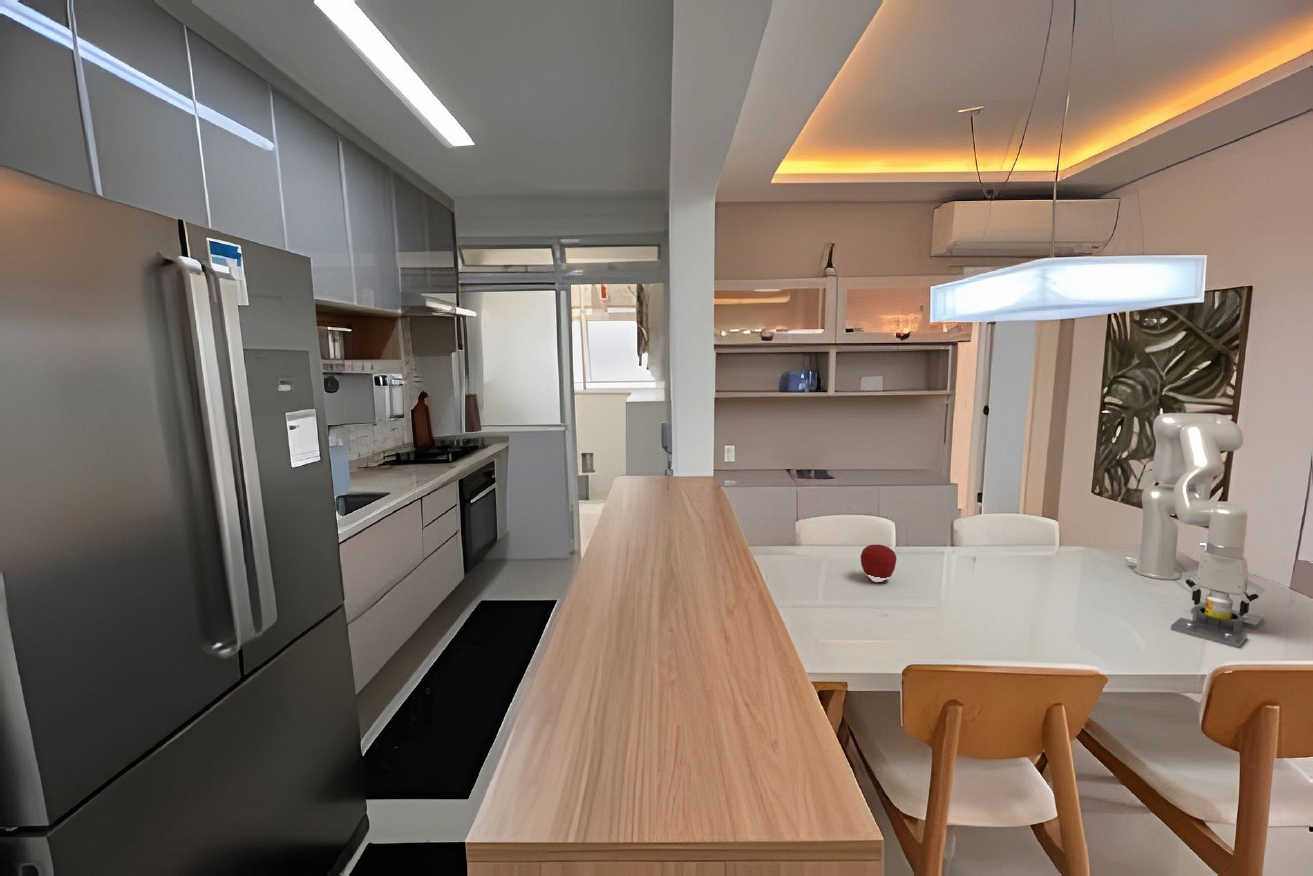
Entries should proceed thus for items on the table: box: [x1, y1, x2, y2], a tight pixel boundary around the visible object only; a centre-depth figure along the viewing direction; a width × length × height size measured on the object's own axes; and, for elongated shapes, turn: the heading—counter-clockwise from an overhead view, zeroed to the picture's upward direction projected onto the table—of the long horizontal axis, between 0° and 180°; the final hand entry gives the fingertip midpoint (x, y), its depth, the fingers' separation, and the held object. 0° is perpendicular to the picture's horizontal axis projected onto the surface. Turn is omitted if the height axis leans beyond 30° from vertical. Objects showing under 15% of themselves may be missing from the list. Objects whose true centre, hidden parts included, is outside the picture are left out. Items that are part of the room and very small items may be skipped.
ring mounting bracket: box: [1170, 601, 1264, 649], centre depth 171 cm, size 28×14×4 cm, turn 126°
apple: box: [860, 543, 897, 578], centre depth 210 cm, size 12×12×13 cm
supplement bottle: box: [1205, 589, 1234, 619], centre depth 171 cm, size 6×6×10 cm
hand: (1219, 609), depth 171 cm, fingers open, 9 cm apart
